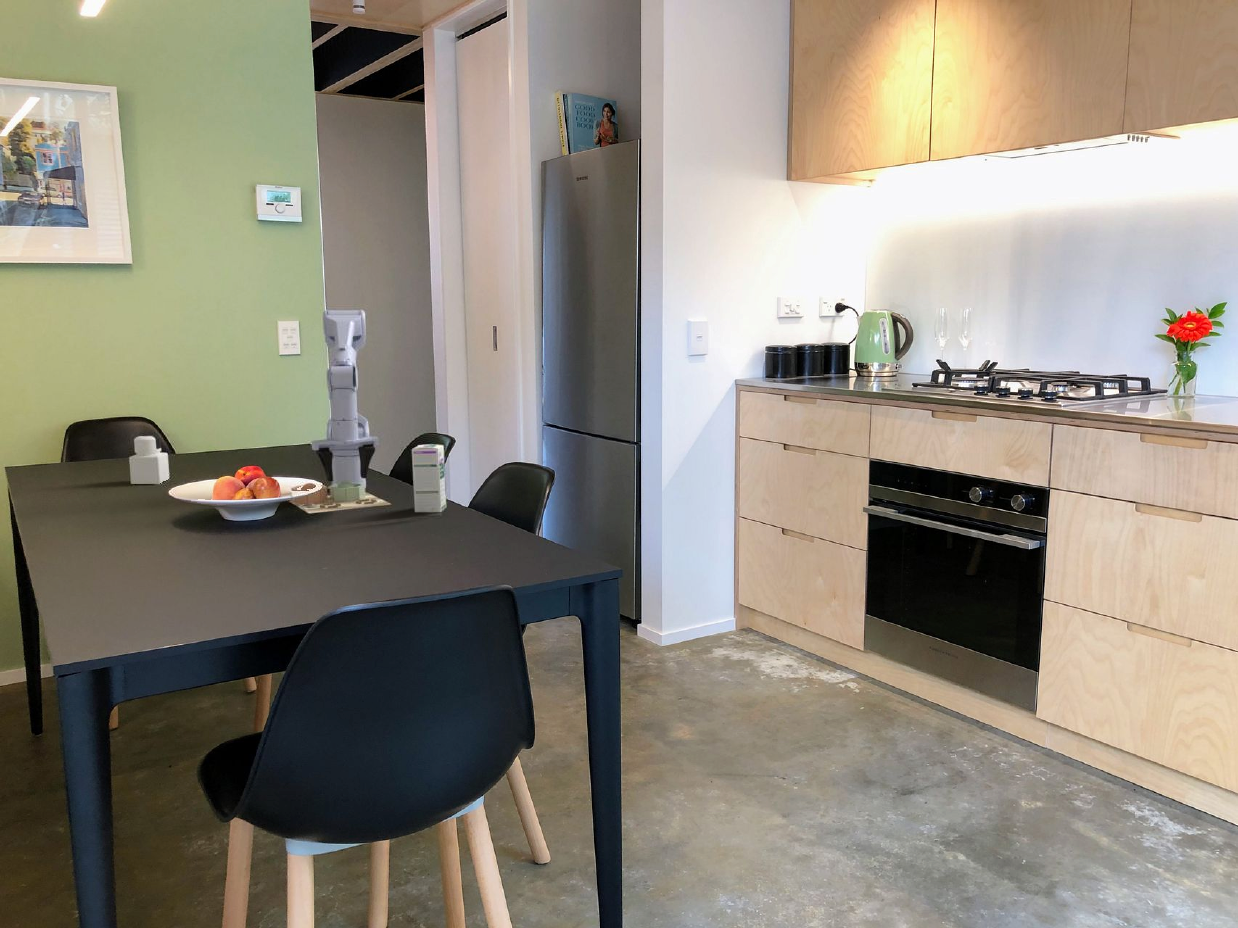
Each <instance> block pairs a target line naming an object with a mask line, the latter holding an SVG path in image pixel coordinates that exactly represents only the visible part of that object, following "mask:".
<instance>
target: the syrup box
mask: <svg viewBox="0 0 1238 928" xmlns="http://www.w3.org/2000/svg"><path fill="white" fill-rule="evenodd" d="M444 448H445V447H444V445H443V444H435V443H434V444H433V443H430V444H427V443H426V444H418V445H417V446H415V447H414V448H412V449H411V458H412V459H411V460H412V481H413V482H412V483H413V485H412V486H413V499H414V500H413V501H414V513H429V515H434V516H442V514H443V512H444V510H445V509H446V508H447V491H446V470H445V469H446V467H445V466H446V465H445V449H444ZM430 513H433V514H430Z"/></svg>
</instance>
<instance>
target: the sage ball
mask: <svg viewBox="0 0 1238 928" xmlns="http://www.w3.org/2000/svg"><path fill="white" fill-rule="evenodd" d="M350 487H355V486H354V485H353V484H352V483H351V482H349V481H344V482H341V483H340V484H339V485H338V487H337V488H350Z"/></svg>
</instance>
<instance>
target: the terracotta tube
mask: <svg viewBox="0 0 1238 928" xmlns="http://www.w3.org/2000/svg"><path fill="white" fill-rule="evenodd" d="M304 485H305V484H303V485H296V486H293V487H290V488H291V489H290V491H291V490H292V491H309V490H297V488H299V487H301V486H304ZM320 485H321V486H322V488H321V489H320V490H318V491H316V492H314V493H313V494H308V495H306V496H303V497H298V498H296V499H292V498H291V499H292V502H293V503H296V504H312V503H321V502H324V501H327V500H328V496H329V495H328V486H326V485H324V484H320ZM293 503H292V504H293Z"/></svg>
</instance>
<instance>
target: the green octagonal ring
mask: <svg viewBox="0 0 1238 928" xmlns="http://www.w3.org/2000/svg"><path fill="white" fill-rule="evenodd" d="M352 484H353V485H354V486H355V487H350V488H337V487H338V485H339V484H334V485H332V484H331V485H329V486H330V489H329V496H330V499H331V500H333V501H341V502H348V501H358V500H362V499H364V498H365V492H366V488H365V485H364V484H362V483H352Z"/></svg>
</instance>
